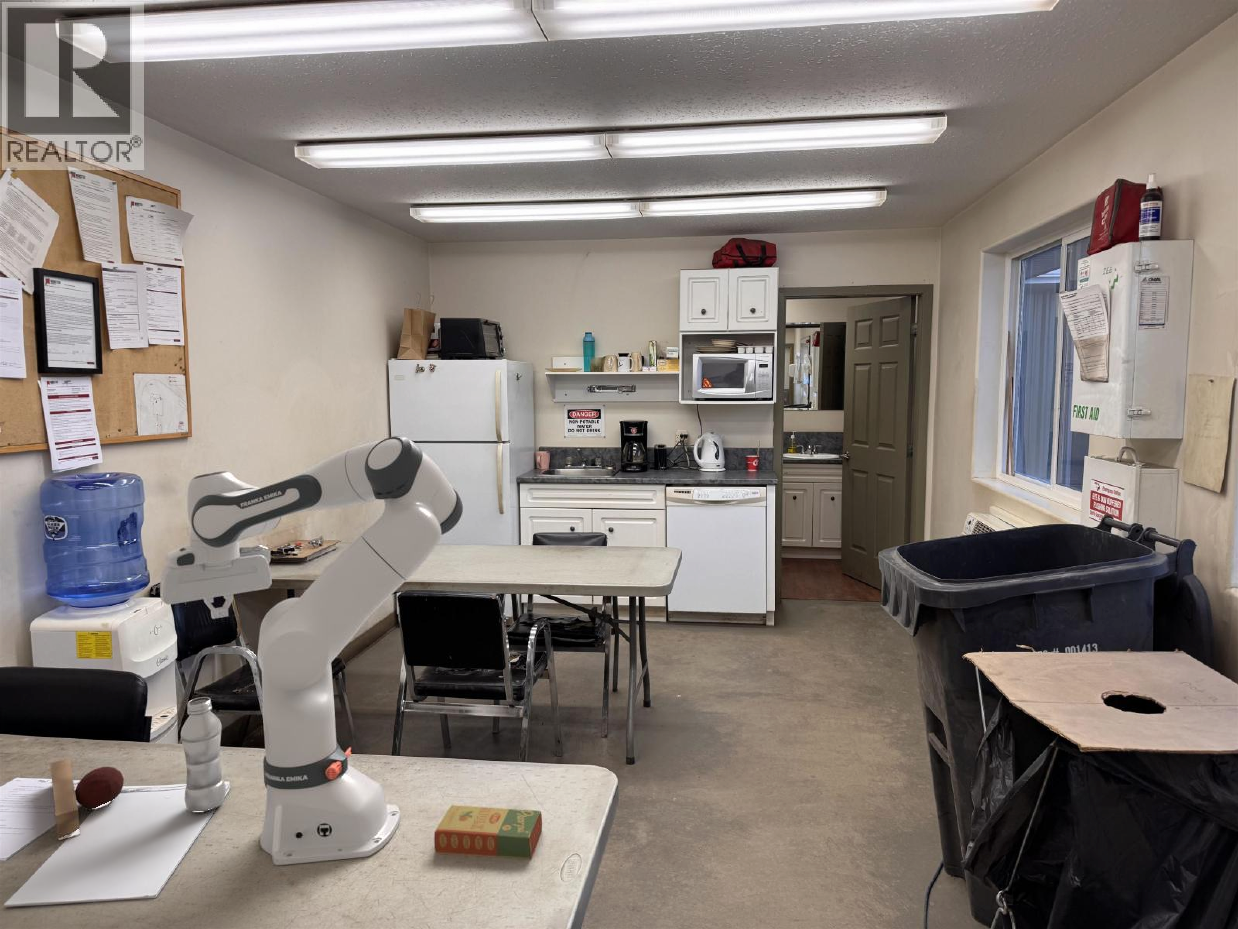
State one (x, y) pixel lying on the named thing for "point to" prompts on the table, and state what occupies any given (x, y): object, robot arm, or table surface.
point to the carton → (488, 832)
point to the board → (64, 798)
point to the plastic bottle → (202, 756)
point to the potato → (99, 787)
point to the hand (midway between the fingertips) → (219, 617)
